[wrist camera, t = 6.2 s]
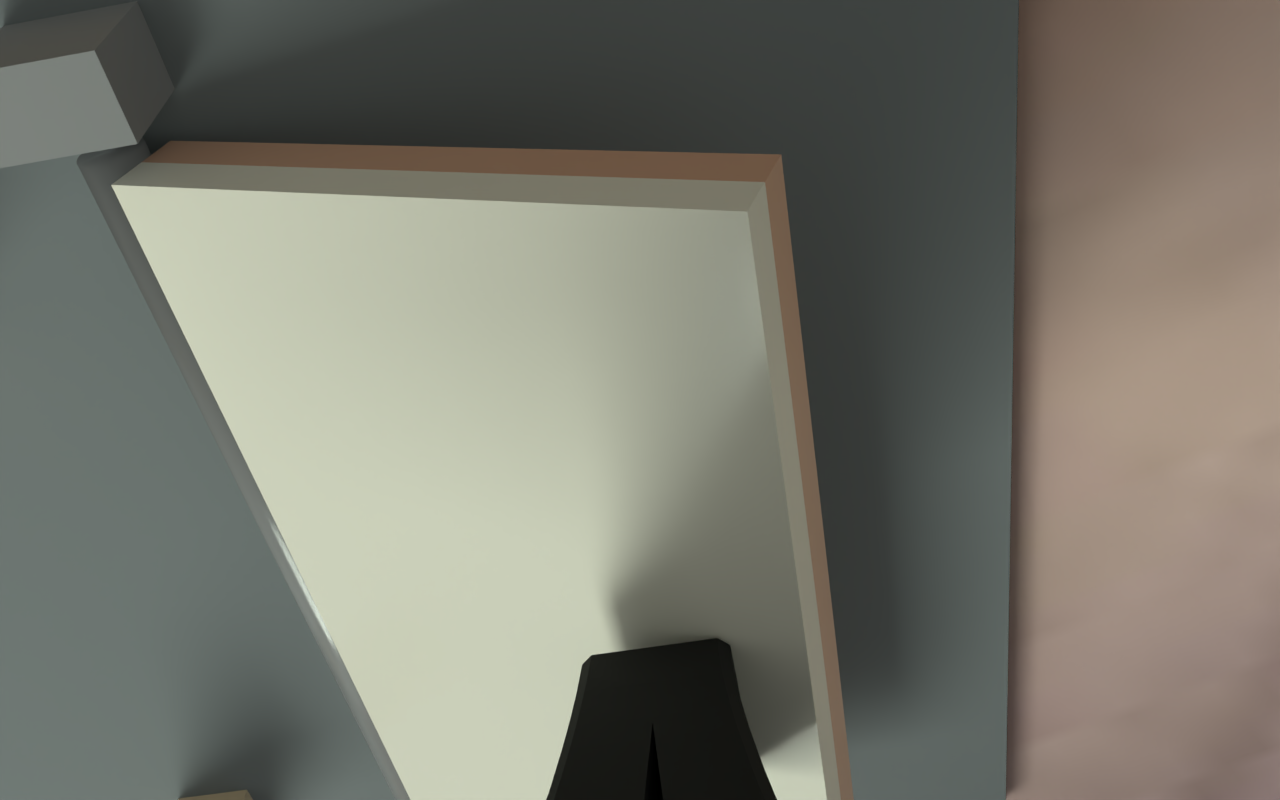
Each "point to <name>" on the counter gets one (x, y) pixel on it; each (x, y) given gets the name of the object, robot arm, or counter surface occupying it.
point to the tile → (504, 428)
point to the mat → (523, 119)
